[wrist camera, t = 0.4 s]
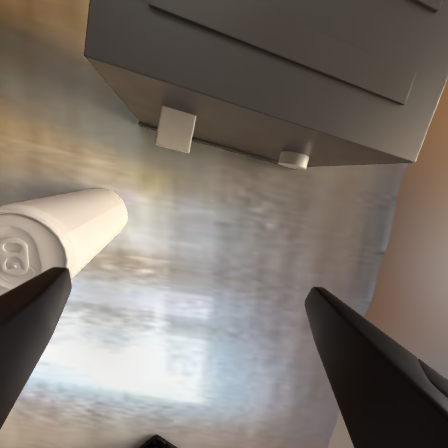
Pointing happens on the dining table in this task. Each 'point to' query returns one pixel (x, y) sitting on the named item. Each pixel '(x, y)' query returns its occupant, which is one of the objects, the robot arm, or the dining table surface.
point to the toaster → (277, 74)
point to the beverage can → (56, 233)
